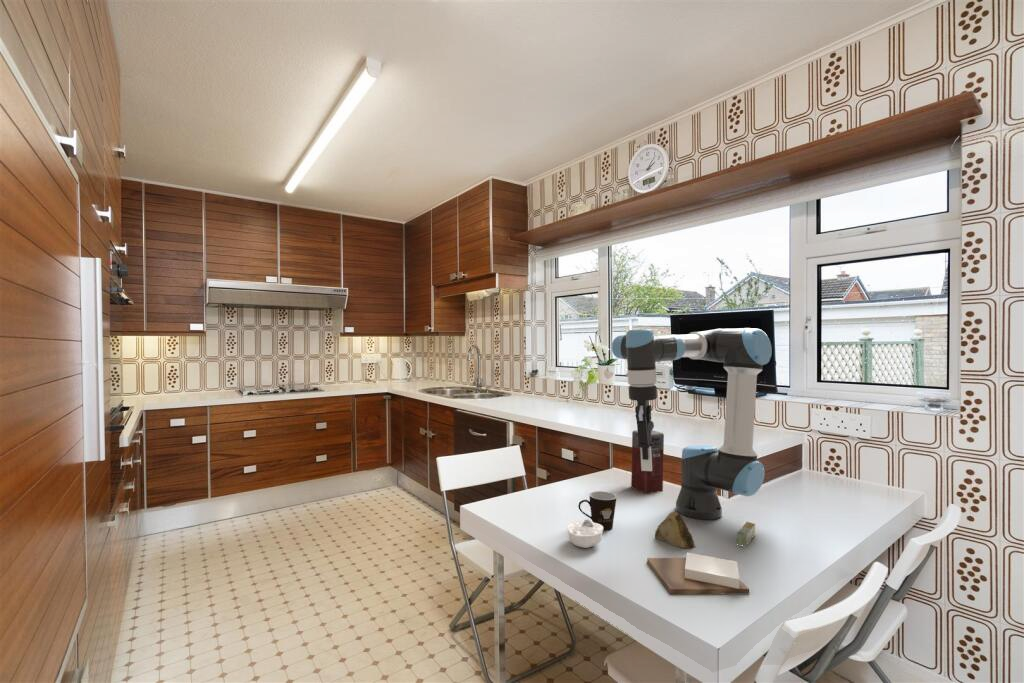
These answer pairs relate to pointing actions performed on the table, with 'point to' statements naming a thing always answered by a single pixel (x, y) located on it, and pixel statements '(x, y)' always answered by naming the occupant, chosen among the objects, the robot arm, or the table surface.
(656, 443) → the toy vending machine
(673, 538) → the rock
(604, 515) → the coffee mug
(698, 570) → the tile
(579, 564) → the table surface
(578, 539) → the cell model
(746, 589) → the board
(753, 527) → the medication box
